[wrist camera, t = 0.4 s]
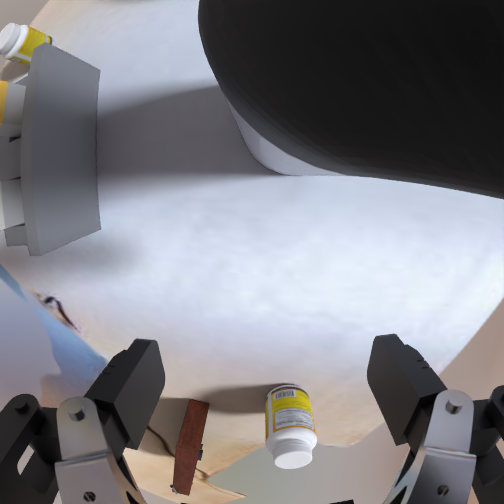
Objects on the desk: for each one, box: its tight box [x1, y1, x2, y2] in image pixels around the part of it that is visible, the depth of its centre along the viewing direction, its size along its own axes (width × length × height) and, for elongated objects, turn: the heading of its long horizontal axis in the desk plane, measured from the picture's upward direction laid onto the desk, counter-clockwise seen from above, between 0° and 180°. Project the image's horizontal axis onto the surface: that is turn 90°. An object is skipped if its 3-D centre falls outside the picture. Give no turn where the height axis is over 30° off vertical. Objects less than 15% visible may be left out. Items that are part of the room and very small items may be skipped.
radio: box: [170, 399, 209, 496], centre depth 27 cm, size 19×3×15 cm, turn 166°
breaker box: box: [0, 42, 101, 256], centre depth 19 cm, size 18×10×10 cm, turn 1°
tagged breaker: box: [0, 80, 26, 137], centre depth 16 cm, size 4×4×8 cm
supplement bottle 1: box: [0, 23, 54, 66], centre depth 16 cm, size 5×5×8 cm
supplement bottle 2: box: [265, 385, 317, 469], centre depth 27 cm, size 6×6×10 cm
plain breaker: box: [0, 179, 25, 230], centre depth 18 cm, size 4×4×8 cm
